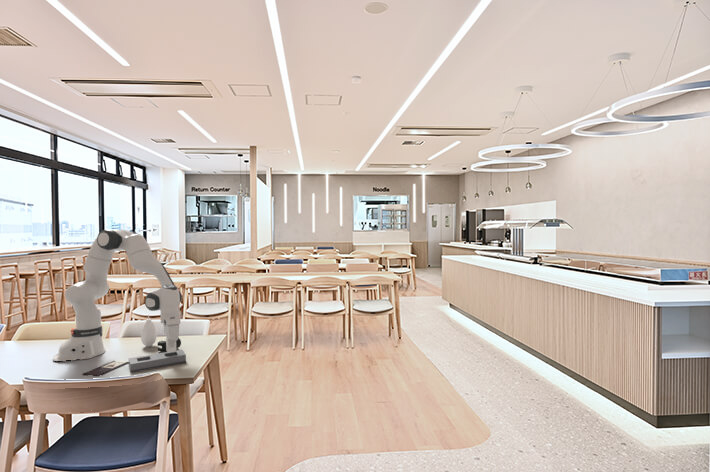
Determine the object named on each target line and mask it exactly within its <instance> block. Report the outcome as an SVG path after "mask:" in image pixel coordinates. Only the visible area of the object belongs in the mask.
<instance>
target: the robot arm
mask: <svg viewBox="0 0 710 472" xmlns="http://www.w3.org/2000/svg"><path fill="white" fill-rule="evenodd" d="M120 251H125V253H126V255H127V259H128V261H129V263H130V264H129V265H130V266H131V268H133V269H134V270H136V271H138V272H141V273H146V274H149V275H152V276H154V277H155V278H156V279H157V281H158V282H159V284H160V285H161V287H160V288H158V289H156V290H154V291H152V292H149V293H147V294H146V296H145V299H144V305H145V307H146V308H147V310H148V311H151V312H155V311H160V323H161V324H163V332H164V335H165V337H168V339H169V340H170V347H171V348H172V347H174V342H175V341H176V340H178V338H179V335H180V325H181V310H180V304H181V302H182V298H183V295H182V292H181V291H180V289H179V287H178V286H176V284H175V283H174V280H172V278H171V276H170V274H169V272H168V271H167V269H166V267H165V265H163V263H162V262H160V261H159V260H158V259H157V258H156V257H155V255H154V254H153V252H152V249H151V247H150V245H149V243H148V241H147V240H146V238H145V237H144V236H143V235H141V234H138V233H137V232H136V231H133V230H126V229H103V230H101V231H100V232H99V233H98V234H97V237H96V238H95V239H94V241H93V243H92V245H91V246H90V249H89V250H88V253H87V256H86V258H85V261H84V265H83V269H82V270H83V271H84V272H85V277H84V278H85V280H84V281H80V282H76V283H73V284H71V285H70V286H68V287H67V288H66V289H65V291H64V298H65V300H66V301H67V303H69V304H70V305H71V306H72V308H73V312H74V314H75V328H71V329H70V334H71V337H70V338H68V339H67V340H66V341H64V342H63V343H62V344H60V347H58V348H59V349H58V352H57V354H55V355H54V356H53V358H52V361H53V360H54V361H63V362H67V361H66V360H71V361H77V360H76V359H80V360H87V359H88V360H89V359H92V358H95V357H96V356H100V355H102V354H105V353H106V348H105V347H104V341H103V335H104V334H103V325H102V312H101V310H100V309H98V308H97V305H96V302H95V301H96V300H100V299H101V298H103V297H104V296H107V294H108V293H109V290H110V287H109V283H108V282H107V281H108V272H109V268H110V266H111V263H112V260H113V257H114V254H115V252H120ZM54 361H53V362H54Z"/></svg>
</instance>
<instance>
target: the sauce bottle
mask: <svg viewBox="0 0 710 472" xmlns="http://www.w3.org/2000/svg"><path fill="white" fill-rule="evenodd" d="M157 337H158V332H157V327H156V325H155V323H154V321H152V319H151V318H150V316H149V314H147V319H145V322H144V323H143V325H142V327H141V331H140V339H141V343H142V344H143V345H144V346H145V347H147V348H149V347H152V346H153V345H154V344H155V343H156V341H157Z"/></svg>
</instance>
